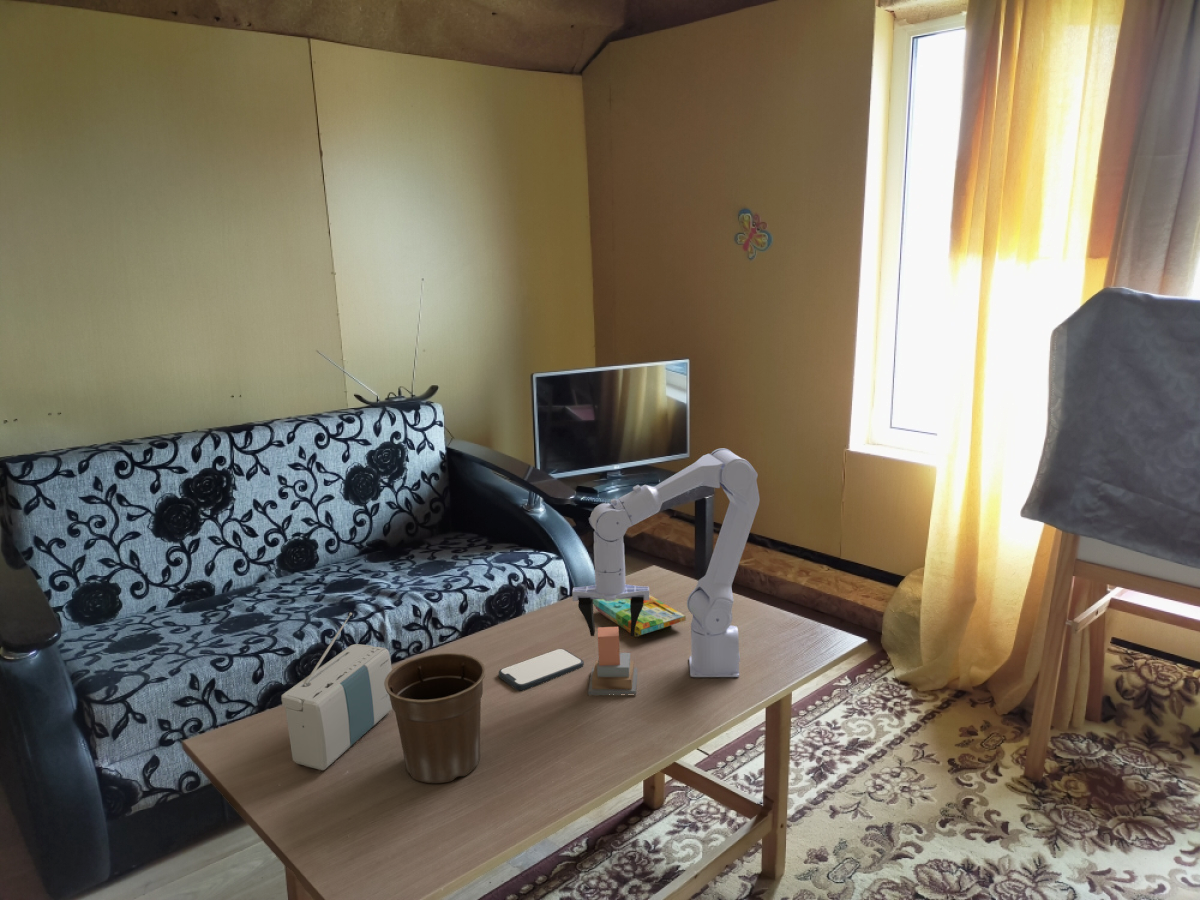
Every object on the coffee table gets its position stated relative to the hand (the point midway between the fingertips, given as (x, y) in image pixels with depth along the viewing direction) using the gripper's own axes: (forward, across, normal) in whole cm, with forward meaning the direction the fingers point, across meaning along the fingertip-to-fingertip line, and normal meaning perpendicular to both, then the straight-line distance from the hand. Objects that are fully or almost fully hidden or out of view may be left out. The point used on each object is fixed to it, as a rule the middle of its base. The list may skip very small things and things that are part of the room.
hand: (612, 633), depth 162 cm
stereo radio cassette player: (+11, -47, -19) cm, 52 cm away
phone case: (+11, -15, +5) cm, 19 cm away
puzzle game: (+11, +4, +28) cm, 30 cm away
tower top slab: (+7, 0, 0) cm, 7 cm away
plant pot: (+11, -27, -26) cm, 39 cm away
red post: (+5, -1, 0) cm, 5 cm away
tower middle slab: (+9, 0, 0) cm, 9 cm away
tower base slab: (+11, 0, 0) cm, 11 cm away
